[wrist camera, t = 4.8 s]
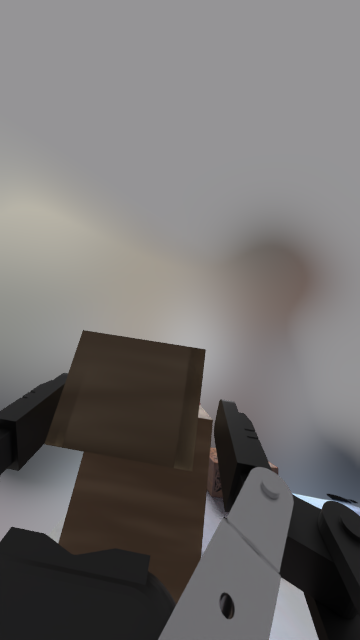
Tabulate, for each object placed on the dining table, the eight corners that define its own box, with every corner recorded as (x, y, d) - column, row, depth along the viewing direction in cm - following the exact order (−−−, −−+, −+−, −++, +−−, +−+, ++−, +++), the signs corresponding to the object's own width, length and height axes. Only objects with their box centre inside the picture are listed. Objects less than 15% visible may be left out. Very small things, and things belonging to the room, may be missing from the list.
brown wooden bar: (192, 471, 6) (205, 349, 7) (44, 444, 6) (82, 330, 7) (180, 397, 30) (184, 373, 32) (151, 392, 31) (156, 368, 32)
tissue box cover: (211, 497, 60) (214, 462, 63) (197, 474, 73) (200, 446, 77) (278, 501, 64) (278, 467, 67) (254, 479, 78) (254, 452, 81)
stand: (119, 1679, 5) (218, 421, 15) (-213, 1522, 6) (98, 400, 16) (161, 740, 18) (199, 401, 28) (63, 715, 19) (134, 391, 29)
